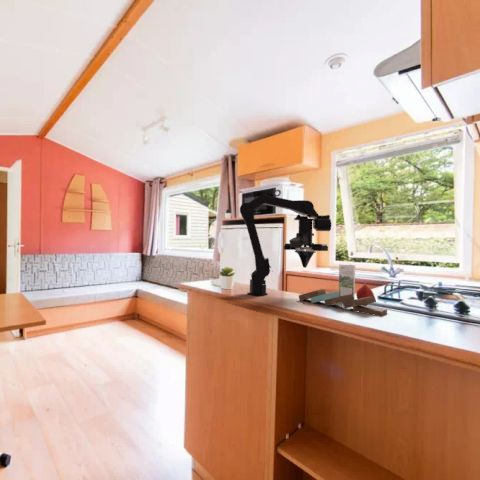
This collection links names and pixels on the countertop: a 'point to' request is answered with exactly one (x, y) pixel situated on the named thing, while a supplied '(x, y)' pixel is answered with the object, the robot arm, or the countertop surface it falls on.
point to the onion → (364, 292)
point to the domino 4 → (359, 302)
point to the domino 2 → (324, 297)
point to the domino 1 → (311, 294)
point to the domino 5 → (370, 310)
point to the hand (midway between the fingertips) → (304, 267)
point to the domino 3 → (339, 299)
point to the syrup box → (346, 279)
